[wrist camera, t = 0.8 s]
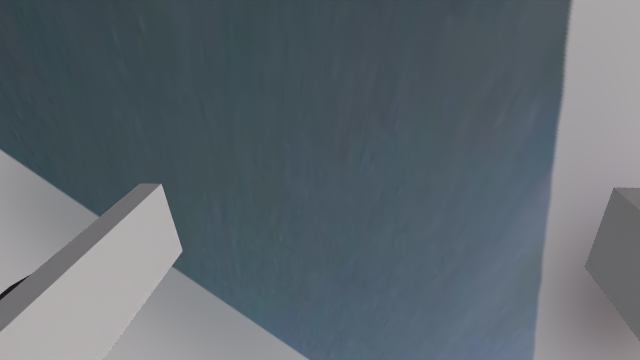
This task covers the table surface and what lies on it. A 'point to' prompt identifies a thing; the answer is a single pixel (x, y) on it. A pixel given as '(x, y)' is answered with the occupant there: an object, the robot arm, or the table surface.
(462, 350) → the table surface
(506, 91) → the table surface
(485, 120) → the table surface
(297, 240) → the table surface
